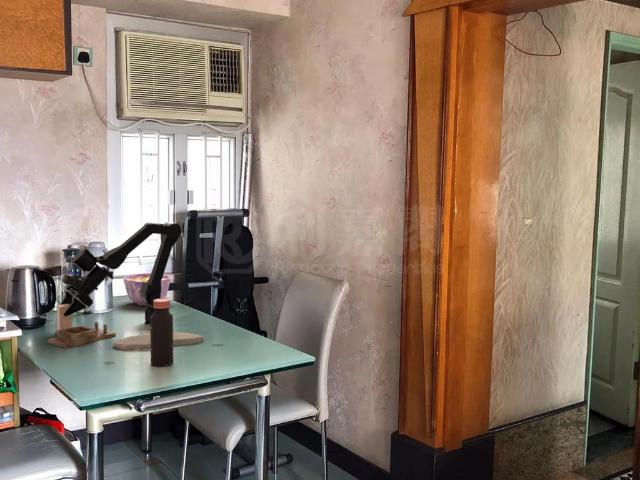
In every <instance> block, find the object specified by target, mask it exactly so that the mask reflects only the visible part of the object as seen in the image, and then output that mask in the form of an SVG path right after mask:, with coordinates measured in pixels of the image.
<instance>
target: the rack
mask: <svg viewBox="0 0 640 480" xmlns="http://www.w3.org/2000/svg"><path fill="white" fill-rule="evenodd" d="M116 336H117V334H116V332H114V331H111V330H108V325H107V324H105V323H104V324H103V327H102V328H99V321H95V322H94V328H93V327H88V326H86V325H85V326H84V325H76V326H72V327H71V328H66V329H61V330H56V337H54V338H53V337H52V338H47V344H50V345H54V346H56V347H57V346H58V347H60V348H64V349H68V348H71V347H76V346H80V345H84V344H88V343H93V342H97V341H101V340H105V339H109V338H113V337H116Z"/></svg>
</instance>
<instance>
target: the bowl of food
mask: <svg viewBox="0 0 640 480" xmlns="http://www.w3.org/2000/svg"><path fill="white" fill-rule="evenodd" d="M150 275H151V273H136V274H130V275H126V276H124V277H123V283H124V286H125V292H126V295H127V297H128V298H129V300H130V301H132V302H134V303H135V304H137V305H138V306H144V307H145V306H146V307H147V306H148V305H146V304H145V301H143V300H142V299H141V297H140V293H141V292H139V291H140V289H141V287H142V282H145V283H146V282H147V281H148V280H149V278H150ZM171 280H172V277H171V276H170V275H168V274H165V273H164V274H163V278H162V281H161V296H160V297H161V298H162V299H166V297H167V295H168V292H169V288H170V287H169V286H170V284H171Z"/></svg>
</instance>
